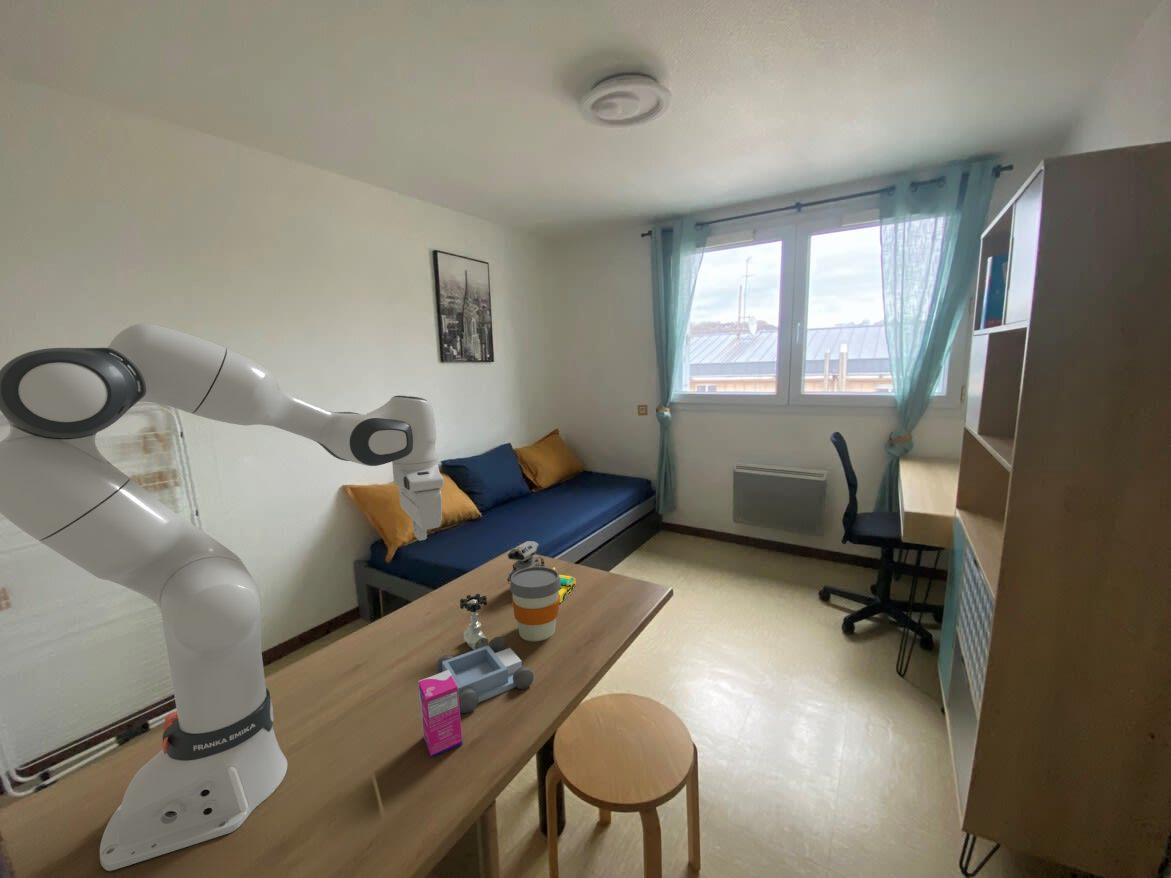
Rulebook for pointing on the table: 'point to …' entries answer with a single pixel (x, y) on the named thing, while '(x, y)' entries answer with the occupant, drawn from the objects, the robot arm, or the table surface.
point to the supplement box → (440, 712)
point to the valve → (474, 621)
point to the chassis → (485, 673)
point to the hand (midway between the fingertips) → (420, 538)
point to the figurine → (524, 557)
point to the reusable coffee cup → (535, 601)
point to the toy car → (566, 586)
